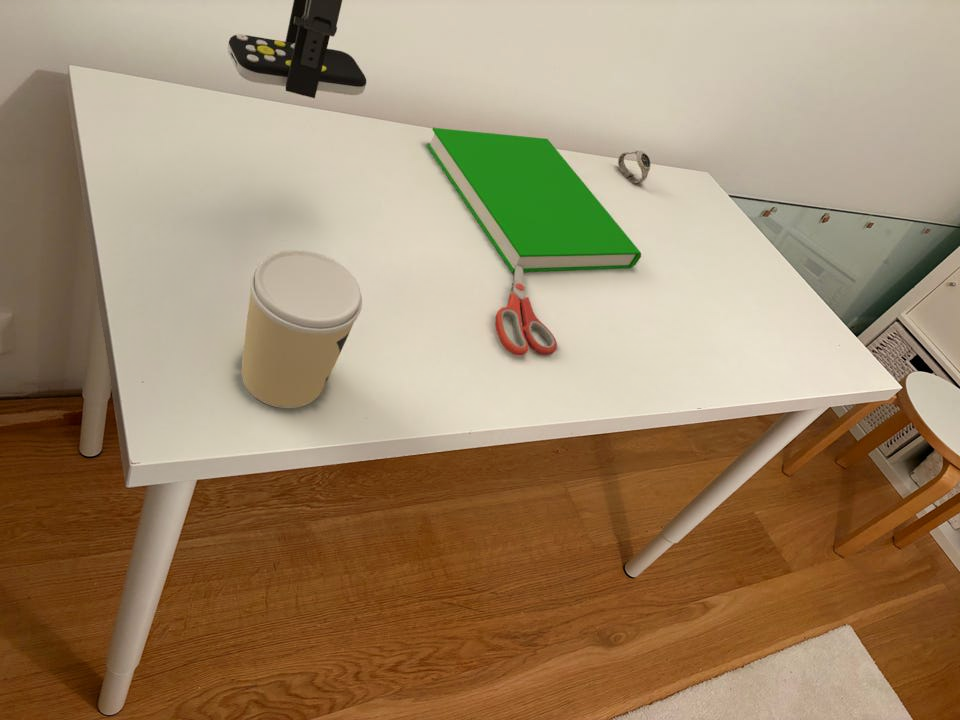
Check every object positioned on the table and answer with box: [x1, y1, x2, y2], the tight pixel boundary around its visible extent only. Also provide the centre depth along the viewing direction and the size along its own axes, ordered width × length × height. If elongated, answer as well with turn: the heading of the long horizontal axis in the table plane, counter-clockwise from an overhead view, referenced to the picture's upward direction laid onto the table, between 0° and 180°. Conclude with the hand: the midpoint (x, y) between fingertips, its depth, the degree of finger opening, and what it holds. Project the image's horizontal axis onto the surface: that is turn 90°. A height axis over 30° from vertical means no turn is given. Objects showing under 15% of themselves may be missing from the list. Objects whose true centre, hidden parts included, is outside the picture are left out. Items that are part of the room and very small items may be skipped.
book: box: [426, 127, 642, 274], centre depth 107 cm, size 22×28×3 cm
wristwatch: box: [617, 150, 652, 184], centre depth 126 cm, size 4×6×5 cm, turn 42°
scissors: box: [494, 265, 558, 357], centre depth 90 cm, size 8×21×2 cm, turn 11°
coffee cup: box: [241, 249, 363, 409], centre depth 64 cm, size 9×9×12 cm
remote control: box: [227, 33, 367, 96], centre depth 70 cm, size 6×13×2 cm, turn 117°
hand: (298, 72), depth 71 cm, fingers closed on remote control, 7 cm apart
